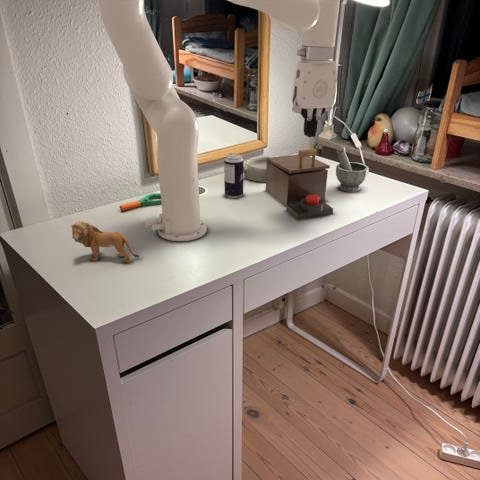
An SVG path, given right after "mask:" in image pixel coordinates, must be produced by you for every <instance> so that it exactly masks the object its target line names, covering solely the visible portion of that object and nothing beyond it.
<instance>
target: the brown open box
mask: <svg viewBox="0 0 480 480" xmlns="http://www.w3.org/2000/svg"><path fill="white" fill-rule="evenodd" d="M328 172H329V171H328V169H321V170H313V171H306V172H298V173H291V174H290V173H288V172H286V171H285V170H283V169H281V168H279V167H277V166H276V165H274V164H272V163H270V162H268V161H267V166H266V182H265V193H268V194H269V195H270V196H271V197H273V198H274V199H275V200H276V201H278V202H279V203H280V204H282V205H283V206H284V207H286V208H287V205H291V204H298V203H300V201H301V200H302V199H304V198H306V196H308V195H317V196H319V199H321V200H323V201H324V202H326V192H327V184H328V183H327V182H328Z"/></svg>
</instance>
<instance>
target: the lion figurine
mask: <svg viewBox="0 0 480 480" xmlns="http://www.w3.org/2000/svg"><path fill="white" fill-rule="evenodd" d="M70 226H71V235H72V236H71V237H72V239H73V240H74V242H75V243H79V244H81V245H83V247H85V248H90V250H91V252H92V254H93V257H91V260H92V261H93V262H95V261H98V259H99V255H100V248H104V249H107V248H108V249H109V248H111V247H114V248H115V249H116V252H118V257H125V258H126V259H124V263H126V264H129V263H130V262H131V256H133V257H135V258H140V255H139V254H137V253H135V252H133V250H132V247H131V246H130V244H129V241H128V240H127V238H126V237H125V235H124V234H122V233H121V232H119V231H112V232H106V231H101V230H100V229H99V228H98V227H96V226H94V225H93V224H90V223H88V222H85V221H76V222H75V223H73V224H71V225H70ZM125 245H126V248H127V249H128V251H129V253H130V254H131V256H130V254H129V253H128V251H126V249H125Z"/></svg>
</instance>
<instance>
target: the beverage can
mask: <svg viewBox="0 0 480 480" xmlns="http://www.w3.org/2000/svg"><path fill="white" fill-rule="evenodd" d="M223 165H224V166H223V172H224V175H223V177H224V181H223V182H224V194H225V196H227V198H230V199H238V198H241V196H243V194H244V175H245V173H244V166H245V164H244V158H243V155H242V154H241V153H236V152H235V153H227V154H225V158H224V159H223Z"/></svg>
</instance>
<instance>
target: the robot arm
mask: <svg viewBox="0 0 480 480" xmlns="http://www.w3.org/2000/svg"><path fill="white" fill-rule="evenodd" d="M227 1H228V2H230V3H232V4H234V5H239V6H242V7H246V8H247V7H248V8H250V9H254V10H257V11H259V12H262V13H264V14H265V15H268V17H269V19H270V21H271V23H273V25H274V26H275V27H278V28H279V29H283V30H288V31H294V32H300V33H301V32H302V45H301V48H300V49H299V48H298V49H297V50H296V56H297V57H300V60H298V62H297V65H296V70H295V74H294V79H293V87H292V97H291V102H292V108H291V111H292V112H293V113H296V114H300V115H301V116H302V119H303V120H304V121H303V135H304V136H306V137H307V138H316V135H317V131H318V124H319V121H320V120H321V117H322V116H323V115H324V114H325V113H326V112H330V111H331V110H332V109H333V106H335V104H336V99H337V90H338V89H337V87H338V69H337V61H335V60H334V56H335V49H336V48H335V46H336V40H337V39H336V38H337V30H338V20H339V13H340V12H339V11H340V3H341V2H340V1H341V0H227ZM98 6H99V13H100V18H101V20H102V24H103V27H104V29H105V31H106V33H107V36H108V38H109V40H110V42H111V44H112V46H113V48H114V50H115V52H116V55H117V56H118V58H119V60H120V62H121V64H122V73H123V77H124V80H125V82H126V84H127V86H128V88H129V90H130V92H131V94H132V95H133V98H134V99H135V102H136V103H137V105H138V106H139V109H140V110H141V112H142V114H143V115H144V117H145V119H146V121H147V123H148V124H149V126H150V128H151V129H152V130H153V131H154V132H155V137H156V161H157V171H158V172H157V173H158V182H159V192H160V194H161V198H160V200H161V204H160V205H161V213H159V217H156V218H155V219H147V220H144V222H143V223H144V228H145V229H151V230H152V231H157V233H158V235H159V236H160V237H161V238H163V239H165V240H166V241H167V240H168V241H173V242H189V241H194V240H197V239H200V238H201V237H203V236H205V235H206V233H207V228H208V227H207V224H206V223H205V222H204V221H202V220H201V207H200V206H201V205H200V186H199V185H200V184H199V165H198V144H199V131H200V130H199V122H198V119H197V116H196V114H195V112H194V110H193V109H192V108H191V107H190V105H188V104H187V103H186V102H184V101H183V100H182V99H181V98H180V96H179V94H178V92H177V90H176V88H175V87H174V84H173V83H174V81H173V78H174V77H173V72H172V69H171V66H170V64H169V62H168V60H167V59H166V56H164V52H163V51H162V48H161V47H160V45H159V43H158V41H157V39H156V36H155V35H154V32H153V30H152V27H151V25H150V23H149V21H148V18H147V15H146V10H145V0H98Z"/></svg>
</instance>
